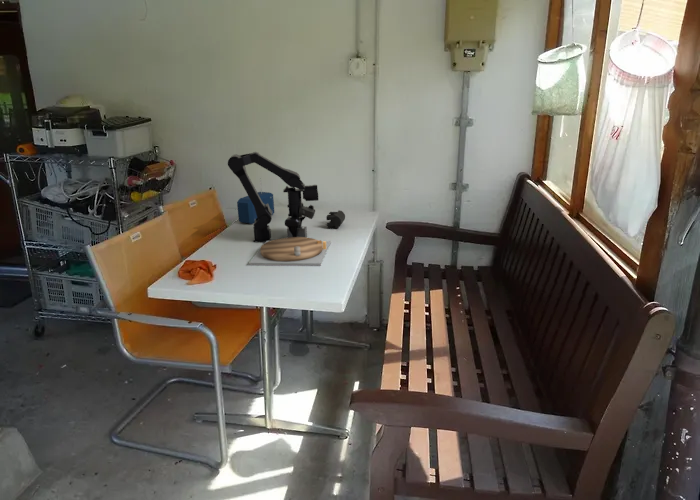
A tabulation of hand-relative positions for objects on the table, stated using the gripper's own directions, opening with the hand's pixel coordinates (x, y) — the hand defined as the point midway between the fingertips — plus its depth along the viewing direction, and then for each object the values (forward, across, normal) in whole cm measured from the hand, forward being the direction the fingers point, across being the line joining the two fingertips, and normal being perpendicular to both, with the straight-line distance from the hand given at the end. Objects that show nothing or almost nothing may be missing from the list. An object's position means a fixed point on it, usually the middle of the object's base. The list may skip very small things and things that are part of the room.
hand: (297, 236), depth 241 cm
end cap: (+1, +19, -15) cm, 24 cm away
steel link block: (+1, 0, 0) cm, 1 cm away
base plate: (+1, -21, -2) cm, 21 cm away
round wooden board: (0, -21, -2) cm, 21 cm away
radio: (+1, +32, +27) cm, 42 cm away
